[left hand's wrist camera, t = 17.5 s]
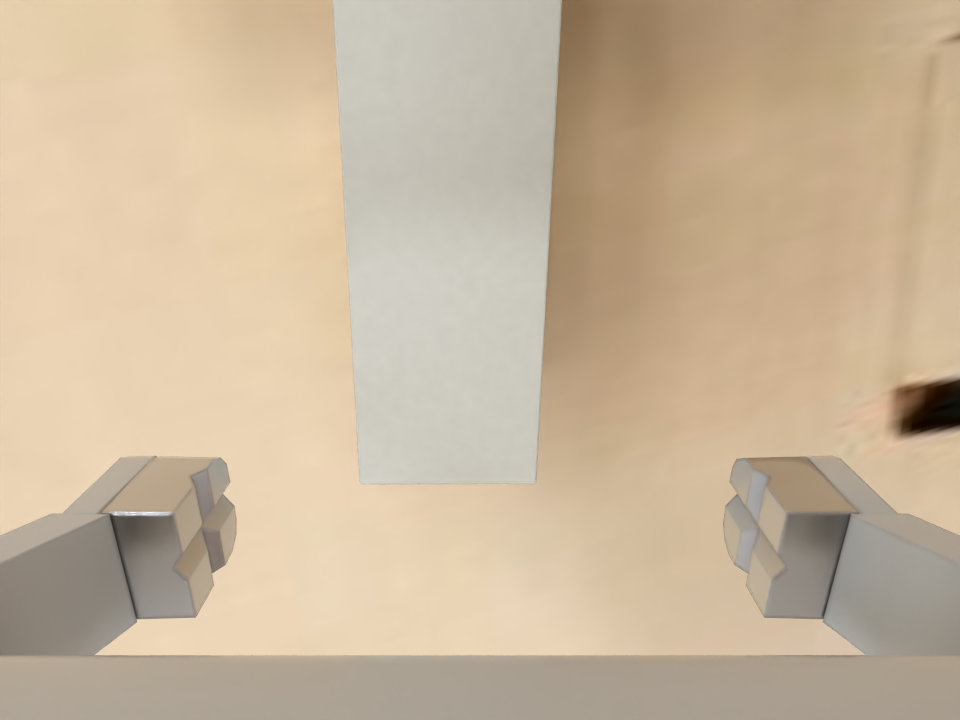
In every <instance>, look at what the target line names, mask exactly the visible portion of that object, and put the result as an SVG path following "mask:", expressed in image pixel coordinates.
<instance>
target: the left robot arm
mask: <svg viewBox="0 0 960 720" xmlns="http://www.w3.org/2000/svg"><path fill="white" fill-rule="evenodd" d="M229 483H230V478H229V473H228V469H227V464H226V463H225V462H224V461H223V460H222V459H221V458H214V457H162V456H160V457H157V456H129V457H122V458H120V459H119V460H118V461H117V462H116V463H115V464H114V465H112V466H111V467H110V468H109V469H108V470H107V471H106V472H105V473H104V474H103V475H102V476H101V477H100V478H99V479H98V480H97V481H96V482H95V483H94V484H93V485H92V486H91V487H90V488H88V489H87V490H86V491H85V492H84V493H83V494H82V495H81V496H80V497H79V498H78V499H77V500H76V501H75V502H74V503H73V504H72V505H71V506H70V507H69V508H68V509H67V510H65V511H64V512H63V513H62V514H50V515H48V516H45V517H43V518H40V519H38V520H36V521H33V522H31V523H29V524H26V525H24V526H22V527H19V528H17V529H15V530H12V531H10V532H8V533H5V534H3V535H1V536H0V720H960V536H959V535H957V534H955V533H952V532H950V531H948V530H945V529H943V528H941V527H938V526H936V525H934V524H931V523H929V522H926V521H924V520H922V519H919V518H917V517H915V516H912V515H910V514H898V513H897V512H896V511H895V510H894V509H892V508H891V507H890V506H889V505H888V504H887V503H886V502H885V501H884V500H883V499H882V498H881V497H880V496H879V495H878V494H877V493H876V492H875V491H874V490H873V489H872V488H871V487H870V486H869V485H867V484H866V483H865V482H864V481H863V480H862V479H861V478H860V477H859V476H858V475H857V474H856V473H855V472H854V471H853V470H852V469H851V468H850V467H849V466H848V465H847V464H846V463H845V462H844V461H842V460H841V459H840V458H837V457H834V456H812V457H770V458H741V459H736V461H735V463H734V466H733V468H732V472H731V478H730V483H731V485H732V486H733V488H734V489H735V491H736V492H737V495H736V496H735V497H734V498H733V499H732V500H731V501H730V502H729V503H728V504H727V505H726V506H725V514H724V521H723V528H724V539H725V544H726V547H727V550H728V553H729V555H730V557H731V559H732V561H733V563H734V565H736V566H737V567H739V568H740V569H742V570H743V571H745V572H747V573H748V577H747V582H746V586H747V588H748V590H749V591H750V593H751V595H752V597H753V599H754V600H755V602H756V604H757V606H758V607H759V609H760V611H761V613H762V614H763V616H764V618H800V619H823V622H824V623H825V624H826V625H828V626H829V627H830V628H832V629H833V630H834V631H836V632H837V633H838V634H839V635H841V636H842V637H843V638H845V639H846V640H847V641H849V642H850V643H851V644H852V645H854V646H855V647H856V648H858V649H859V650H860V651H862V652H863V653H864V654H865V655H95V654H96V653H97V652H99V651H100V650H101V649H103V648H104V647H105V646H106V645H108V644H109V643H110V642H112V641H113V640H114V639H116V638H117V637H118V636H119V635H121V634H122V633H123V632H125V631H126V630H127V629H129V628H130V627H131V626H133V625H134V624H135V623H136V622H137V619H160V618H195V617H196V616H197V614H198V613H199V611H200V609H201V607H202V606H203V604H204V602H205V600H206V599H207V597H208V595H209V593H210V591H211V590H212V588H213V586H214V582H213V577H212V573H213V572H215V571H217V570H218V569H220V568H221V567H223V566H224V565H226V563H227V561H228V559H229V557H230V555H231V553H232V551H233V546H234V542H235V538H236V513H235V506H234V505H233V504H232V503H231V502H230V501H229V500H228V499H227V498H226V497H225V496H224V495H223V492H224V491H225V489H226V488H227V486H228V485H229Z"/></svg>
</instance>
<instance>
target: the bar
mask: <svg viewBox="0 0 960 720" xmlns="http://www.w3.org/2000/svg"><path fill="white" fill-rule="evenodd" d="M561 12H562V0H333V16H334V34H335V52H336V70H337V88H338V106H339V124H340V142H341V160H342V178H343V196H344V213H345V231H346V249H347V267H348V285H349V303H350V321H351V339H352V357H353V375H354V393H355V411H356V429H357V447H358V465H359V482H360V484H535V483H536V481H537V462H538V443H539V424H540V406H541V387H542V368H543V349H544V331H545V312H546V293H547V274H548V256H549V237H550V218H551V199H552V180H553V162H554V143H555V124H556V105H557V87H558V68H559V49H560V30H561Z"/></svg>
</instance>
